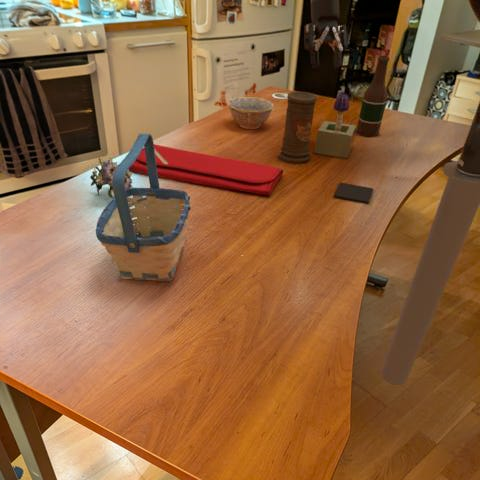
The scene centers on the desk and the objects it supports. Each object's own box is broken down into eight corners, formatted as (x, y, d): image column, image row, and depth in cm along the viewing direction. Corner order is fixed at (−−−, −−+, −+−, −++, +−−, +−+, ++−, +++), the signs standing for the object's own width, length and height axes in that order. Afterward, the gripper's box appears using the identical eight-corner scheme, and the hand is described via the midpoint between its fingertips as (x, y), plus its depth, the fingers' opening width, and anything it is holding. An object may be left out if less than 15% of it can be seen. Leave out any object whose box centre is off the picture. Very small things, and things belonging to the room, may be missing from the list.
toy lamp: (341, 153, 146) (352, 97, 136) (327, 152, 147) (336, 96, 136) (340, 148, 150) (350, 92, 139) (325, 147, 150) (334, 91, 139)
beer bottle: (366, 128, 167) (383, 53, 151) (383, 134, 162) (401, 58, 146) (351, 131, 163) (366, 54, 148) (367, 138, 158) (385, 60, 143)
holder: (352, 147, 151) (356, 125, 146) (347, 158, 143) (351, 135, 139) (321, 142, 153) (324, 120, 149) (314, 152, 146) (317, 130, 141)
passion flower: (127, 219, 119) (121, 196, 107) (86, 207, 118) (75, 183, 107) (141, 181, 122) (135, 155, 110) (101, 170, 121) (91, 142, 110)
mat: (372, 190, 126) (373, 188, 126) (368, 203, 120) (368, 201, 119) (340, 184, 128) (340, 182, 128) (334, 197, 122) (334, 195, 121)
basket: (124, 235, 102) (110, 126, 87) (197, 242, 101) (195, 133, 86) (91, 291, 86) (66, 169, 71) (177, 300, 85) (170, 178, 70)
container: (274, 157, 141) (279, 94, 130) (291, 150, 147) (299, 89, 135) (297, 165, 137) (305, 101, 125) (314, 158, 142) (324, 95, 131)
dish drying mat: (268, 198, 120) (269, 184, 117) (126, 172, 128) (125, 159, 126) (283, 175, 131) (284, 162, 129) (151, 153, 140) (150, 140, 137)
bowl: (281, 127, 163) (283, 105, 158) (249, 137, 154) (250, 113, 149) (249, 116, 171) (251, 94, 166) (217, 124, 163) (218, 101, 158)
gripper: (314, -6, 118) (317, 65, 124) (353, -3, 125) (354, 64, 131) (295, 2, 124) (299, 70, 130) (333, 5, 131) (335, 69, 137)
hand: (326, 67), depth 131 cm, fingers open, 8 cm apart
